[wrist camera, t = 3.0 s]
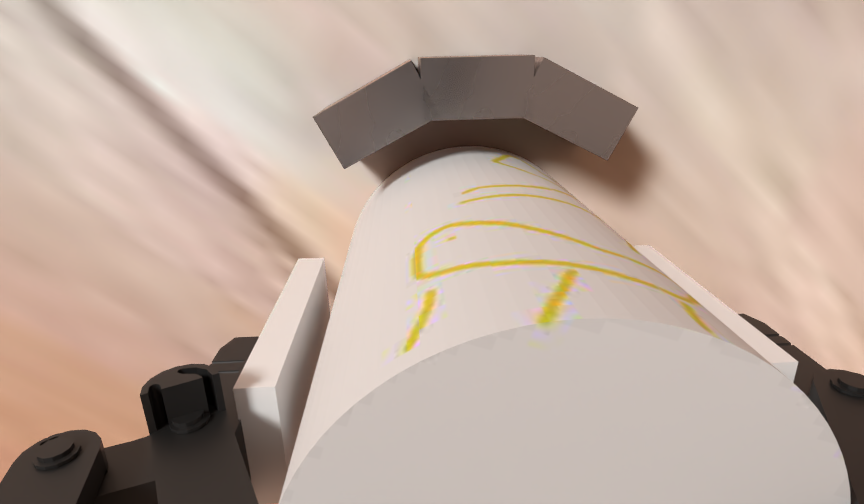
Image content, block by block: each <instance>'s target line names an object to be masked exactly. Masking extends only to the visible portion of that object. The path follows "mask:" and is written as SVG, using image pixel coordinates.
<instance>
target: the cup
mask: <svg viewBox="0 0 864 504" xmlns="http://www.w3.org/2000/svg"><path fill="white" fill-rule="evenodd" d="M279 504H851V498H850V486H849V479H848V473H847V469H846V466H845V462H844V458H843V455H842V452H841V450H840V447H839V445H838V442H837V440H836V438H835V436H834V434H833V432H832V430H831V429H830V427H829V425H828V423H827V422H826V420H825V419H824V417H823V416H822V414H821V413H820V412H819V410H818V409H817V407H816V406H815V405H814V404H813V403H812V402H811V400H810V399H809V398H808V397H807V396H806V395H805V393H804V392H803V391H801V390H800V389H799V388H798V387H797V386H796V385H795V384H794V383H793V382H792V381H791V380H790V379H789V378H787V377H786V376H785V375H784V374H783V373H781V372H780V371H779V370H778V369H777V368H776V367H774V366H773V365H772V364H771V363H770V362H768V361H767V360H766V359H765V358H764V357H763V356H761V355H760V354H759V353H758V352H757V351H756V350H754V349H753V348H752V347H751V346H750V345H748V344H747V343H746V342H745V341H744V340H743V339H741V338H740V337H739V336H738V335H737V334H735V333H734V332H733V331H732V330H731V329H730V328H728V327H727V326H726V325H725V324H724V323H722V322H721V321H720V320H719V319H718V318H717V317H715V316H714V315H713V314H712V313H711V312H710V311H708V310H707V309H706V308H705V307H704V306H702V305H701V304H700V303H699V302H698V301H697V300H695V299H694V298H693V297H692V296H691V295H689V294H688V293H687V292H686V291H685V290H684V289H682V288H681V287H680V286H679V285H678V284H677V283H675V282H674V281H673V280H672V279H671V278H669V277H668V276H667V275H666V274H665V273H664V272H662V271H661V270H660V269H659V268H658V267H656V266H655V265H654V264H653V263H652V262H651V261H649V260H648V259H647V258H646V257H645V256H643V255H642V254H641V253H640V252H639V251H638V250H636V249H635V248H634V247H633V246H632V245H631V244H629V243H628V242H627V241H626V240H625V239H623V238H622V237H621V236H620V235H619V234H618V233H616V232H615V231H614V230H613V229H612V228H610V227H609V226H608V225H607V224H606V223H605V222H603V221H602V220H601V219H600V218H599V217H597V216H596V215H595V214H594V213H593V212H592V211H590V210H589V209H588V208H587V207H586V206H585V205H583V204H582V203H581V202H580V201H579V200H577V199H576V198H575V197H574V196H573V195H572V194H570V193H569V192H568V191H567V190H566V189H564V188H563V187H562V186H561V185H560V184H559V183H557V182H556V181H555V180H554V179H553V178H552V177H550V176H549V175H548V174H547V173H546V172H544V171H543V170H542V169H540V168H539V167H538V166H536V165H535V164H533V163H532V162H530V161H528V160H526V159H524V158H522V157H520V156H518V155H515V154H513V153H510V152H507V151H503V150H499V149H495V148H489V147H481V146H461V147H452V148H446V149H442V150H438V151H434V152H431V153H428V154H426V155H423V156H421V157H418V158H416V159H414V160H413V161H411V162H409V163H407V164H405V165H404V166H402V167H401V168H399V169H398V170H397V171H395V172H394V173H393V174H391V175H390V176H389V177H388V178H387V179H386V180H385V181H384V182H383V183H382V184H381V185H380V186H379V187H378V188H377V189H376V190H375V191H374V193H373V194H372V195H371V197H370V198H369V200H368V201H367V203H366V204H365V206H364V208H363V209H362V211H361V213H360V216H359V218H358V220H357V223H356V225H355V229H354V232H353V235H352V239H351V243H350V246H349V250H348V254H347V257H346V261H345V264H344V268H343V272H342V275H341V279H340V283H339V286H338V290H337V294H336V297H335V301H334V304H333V308H332V312H331V315H330V319H329V323H328V326H327V330H326V334H325V337H324V341H323V344H322V348H321V352H320V355H319V359H318V363H317V366H316V370H315V373H314V377H313V381H312V384H311V388H310V392H309V395H308V399H307V403H306V406H305V410H304V413H303V417H302V421H301V424H300V428H299V432H298V435H297V439H296V442H295V446H294V450H293V453H292V457H291V461H290V464H289V468H288V472H287V475H286V479H285V482H284V486H283V490H282V493H281V497H280V501H279Z"/></svg>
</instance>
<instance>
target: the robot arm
mask: <svg viewBox="0 0 864 504" xmlns="http://www.w3.org/2000/svg"><path fill="white" fill-rule="evenodd" d="M633 247H634V248H635V249H636V250H638V251H639V252H640V253H641V254H642V255H643V256H645V257H646V258H647V259H648V260H649V261H651V262H652V263H653V264H654V265H655V266H656V267H658V268H659V269H660V270H661V271H662V272H664V273H665V274H666V275H667V276H668V277H669V278H671V279H672V280H673V281H674V282H675V283H677V284H678V285H679V286H680V287H681V288H682V289H684V290H685V291H686V292H687V293H688V294H689V295H691V296H692V297H693V298H694V299H695V300H697V301H698V302H699V303H700V304H701V305H702V306H704V307H705V308H706V309H707V310H708V311H710V312H711V313H712V314H713V315H714V316H715V317H717V318H718V319H719V320H720V321H721V322H722V323H724V324H725V325H726V326H727V327H728V328H730V329H731V330H732V331H733V332H734V333H735V334H737V335H738V336H739V337H740V338H741V339H743V340H744V341H745V342H746V343H747V344H748V345H750V346H751V347H752V348H753V349H754V350H756V351H757V352H758V353H759V354H760V355H761V356H763V357H764V358H765V359H766V360H767V361H768V362H770V363H771V364H772V365H773V366H774V367H776V368H777V369H778V370H779V371H780V372H781V373H783V374H784V375H785V376H786V377H787V378H789V379H790V380H791V381H792V382H793V383H794V384H795V385H796V386H797V387H798V388H799V389H800V390H801V391H803V392H804V393H805V395H806V396H807V397H808V398H809V399H810V400H811V402H812V403H813V404H814V405H815V406H816V407H817V409H818V410H819V412H820V413H821V414H822V416H823V417H824V419H825V420H826V422H827V423H828V425H829V427H830V429H831V430H832V432H833V434H834V436H835V438H836V440H837V442H838V445H839V447H840V450H841V452H842V455H843V458H844V462H845V466H846V469H847V473H848V479H849V486H850V498H851V504H864V375H861V374H858V373H853V372H849V371H845V370H835V369H828V370H826V369H825V368H823V367H822V366H821V365H819V364H818V363H817V362H815V361H814V360H813V359H811V358H810V357H809V356H807V355H806V354H805V353H803V352H802V351H801V350H799V349H798V348H797V347H795V346H794V345H791V343H790V342H789V341H787V340H786V339H785V338H783V337H782V336H779V334H778V333H777V332H775V331H774V330H773V329H771V328H770V327H769V326H767V325H766V324H765V323H763V322H761V321H759V320H756V319H754V318H752V317H750V316H747V315H745V314H737V313H736V312H734V311H733V310H732V309H731V308H729V307H728V306H727V305H725V304H724V303H723V302H722V301H720V300H719V299H718V298H716V297H715V296H714V295H713V294H711V293H710V292H709V291H708V290H706V289H705V288H704V287H702V286H701V285H700V284H699V283H697V282H696V281H695V280H694V279H692V278H691V277H690V276H688V275H687V274H686V273H685V272H683V271H682V270H681V269H679V268H678V267H677V266H676V265H674V264H673V263H672V262H671V261H669V260H668V259H667V258H665V257H664V256H663V255H662V254H660V253H659V252H658V251H656V250H655V249H654V248H653V247H651V246H650V245H643V246H633ZM329 319H330V311H329V301H328V290H327V280H326V270H325V260H324V258H306V259H298V261H297V263H296V265H295V267H294V269H293V271H292V273H291V275H290V277H289V279H288V281H287V283H286V285H285V287H284V289H283V290H282V292H281V294H280V296H279V298H278V300H277V302H276V304H275V306H274V308H273V310H272V312H271V314H270V316H269V318H268V320H267V322H266V324H265V326H264V328H263V330H262V332H261V334H260V336H259V337H238V338H234V339H233V340H231V341H230V342H229V343H227V344H226V345H225V346H223V347H222V348H221V349H220V350H219V351H218V353H217V355H216V356H215V358H214V359H213V361H212V364H210V366H208V365H205V364H189V365H183V366H177V367H174V368H172V369H169V370H166V371H163V372H161V373H160V374H158V375H156V376H154V377H153V378H151V379H150V380H149V381H148V382H147V383H146V384H145V385H144V386H143V387H142V390H141V393H140V397H141V401H142V405H143V409H144V413H145V417H146V421H147V425H148V429H149V433H150V435H149V436H147V437H144V438H141V439H138V440H135V441H131V442H127V443H123V444H119V445H115V446H111V447H107V448H104V447H103V444H102V440H101V438H100V437H99V436H98V435H97V433H96V432H92V431H88V430H74V431H67V432H64V433H60V434H55V435H52V436H50V437H48V438H45V439H43V440H41V441H39V442H37V443H36V444H34V445H33V446H31V447H30V448H28V449H27V450H25V451H24V452H23V453H22V454H21V455H20V456H19V457H18V458H17V459H16V460H15V461H14V462H13V464H12V465H11V467H10V469H9V470H8V472H7V473H6V475H5V477H4V478H3V480H2V481H1V483H0V504H276V503H279V501H280V497H281V493H282V490H283V486H284V482H285V479H286V475H287V472H288V468H289V464H290V461H291V457H292V453H293V450H294V446H295V442H296V439H297V435H298V432H299V428H300V424H301V421H302V417H303V413H304V410H305V406H306V403H307V399H308V395H309V392H310V388H311V384H312V381H313V377H314V373H315V370H316V366H317V363H318V359H319V355H320V352H321V348H322V344H323V341H324V337H325V334H326V330H327V326H328V323H329Z"/></svg>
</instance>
